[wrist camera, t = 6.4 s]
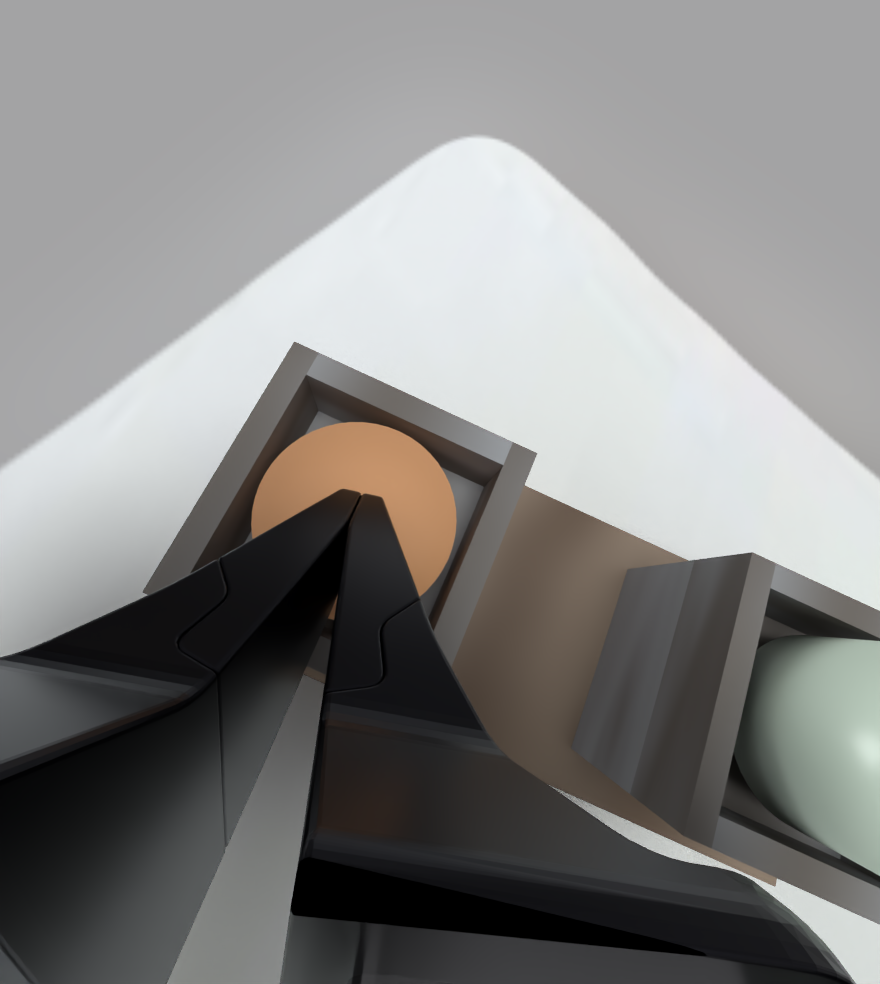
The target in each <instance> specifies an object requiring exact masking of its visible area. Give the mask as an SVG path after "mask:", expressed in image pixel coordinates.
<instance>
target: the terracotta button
mask: <svg viewBox="0 0 880 984" xmlns="http://www.w3.org/2000/svg"><path fill="white" fill-rule="evenodd" d="M340 489H348V490H353V491H357V492H360V493H361V495H363V494H365V493H366V494H371V495H376V496H380V497H382V498H383V500H384V502H385V505H386V508H387V510H388V513H389V516H390V518H391V521H392V524H393V526H394V529H395V532H396V534H397V537H398V540H399V543H400V545H401V548H402V551H403V553H404V556H405V559H406V561H407V564H408V567H409V569H410V572H411V575H412V577H413V580H414V583H415V586H416V588H417V591H418V594H419V596H421V595H422V594H423V593H425V592H426V591H427V590H428V588H429V587H430V586H431V585H432V584H433V583H434V582H435V580H436V579H437V578H438V576H439V575H440V573H441V572H442V570H443V568H444V566H445V564H446V563H447V561H448V559H449V556H450V553H451V550H452V547H453V543H454V539H455V534H456V522H457V520H456V506H455V500H454V496H453V492H452V489H451V486H450V483H449V481H448V479H447V477H446V475H445V473H444V471H443V470H442V468H441V467H440V465H439V464H438V462H437V461H436V460H435V459H434V457H433V456H432V455H431V454H430V453H429V452H428V451H427V450H426V449H425V448H424V447H423V446H422V445H421V444H419V443H418V442H416V441H415V440H414V439H412V438H411V437H409V436H407V435H405V434H403V433H402V432H400V431H397V430H395V429H392V428H390V427H386V426H383V425H379V424H374V423H366V422H347V423H338V424H334V425H329V426H325V427H323V428H320V429H317V430H314V431H312V432H310V433H308V434H306V435H304V436H302V437H301V438H299V439H298V440H296V441H295V442H293V443H292V444H291V445H289V446H288V447H287V448H286V449H285V450H284V451H283V452H282V453H281V454H280V455H279V456H278V457H277V458H276V459H275V460H274V462H273V463H272V464H271V465H270V467H269V468H268V470H267V471H266V473H265V475H264V477H263V479H262V481H261V483H260V485H259V487H258V490H257V493H256V496H255V499H254V504H253V509H252V521H251V528H252V539H253V538H255V537H257V536H259V535H260V534H262V533H264V532H266V531H267V530H269V529H271V528H273V527H274V526H276V525H278V524H280V523H282V522H283V521H285V520H287V519H289V518H290V517H292V516H294V515H296V514H297V513H299V512H301V511H303V510H304V509H306V508H308V507H310V506H311V505H313V504H315V503H317V502H318V501H320V500H322V499H324V498H326V497H327V496H329V495H331V494H333V493H334V492H336V491H338V490H340ZM337 596H338V595H337ZM336 603H337V598H336V600H335V603H334V605H333V608H332V610H331V612H330V615H329V617H328V619H332V620H334V617H335V610H336Z"/></svg>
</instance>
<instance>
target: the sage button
mask: <svg viewBox="0 0 880 984" xmlns="http://www.w3.org/2000/svg"><path fill="white" fill-rule="evenodd" d="M734 755H735V759H736V761H737V764H738V766H739V769H740V771H741V773H742V775H743V777H744V779H745V781H746V783H747V785H748V786H749V788H750V789H751V790H752V792H753V793H754V795H755V796H756V797H757V799H758V800H759V801H760V802H761V803H762V805H763V806H764V807H765V808H766V809H767V810H768V811H770V812H771V813H772V814H773V815H774V816H775V817H777V818H778V819H779V820H781V821H782V822H783V823H785V824H787V825H788V826H790V827H792V828H794V829H796V830H797V831H799V832H801V833H803V834H805V835H807V836H808V837H810V838H812V839H814V840H816V841H817V842H819V843H821V844H823V845H825V846H826V847H828V848H830V849H832V850H834V851H836V852H837V853H839V854H841V855H843V856H845V857H846V858H848V859H850V860H852V861H854V862H855V863H857V864H859V865H861V866H863V867H865V868H866V869H868V870H870V871H872V872H874V873H875V874H877V875H879V876H880V641H871V640H859V639H846V638H834V637H821V636H808V635H789V636H784V637H779V638H777V639H774V640H772V641H769V642H768V643H766V644H764V645H763V646H761V647H760V648H759V649H757V650H756V654H755V659H754V663H753V668H752V672H751V676H750V681H749V685H748V690H747V694H746V699H745V703H744V707H743V712H742V716H741V721H740V725H739V730H738V734H737V738H736V743H735V747H734Z"/></svg>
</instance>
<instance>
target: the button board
mask: <svg viewBox="0 0 880 984" xmlns="http://www.w3.org/2000/svg"><path fill="white" fill-rule="evenodd" d="M347 422H366V423H374V424H379V425H383V426H386V427H390V428H392V429H395V430H397V431H400V432H402V433H403V434H405V435H407V436H409V437H411V438H412V439H414V440H415V441H416V442H418V443H419V444H421V445H422V446H423V447H424V448H425V449H426V450H427V451H428V452H429V453H430V454H431V455H432V456H433V457H434V459H435V460H436V461H437V462H438V464H439V465H440V467H441V468H442V470H443V471H444V473H445V475H446V477H447V479H448V481H449V483H450V486H451V489H452V492H453V496H454V500H455V506H456V520H457V522H456V534H455V539H454V543H453V547H452V550H451V553H450V556H449V559H448V561H447V563H446V564H445V566H444V568H443V570H442V572H441V573H440V575H439V576H438V578H437V579H436V580H435V582H434V583H433V584H432V585H431V586H430V587H429V588H428V590H427V591H426V592H425V593H423V594H422V595H421V596H420V601H421V602H422V604H423V606H424V609H425V612H426V615H427V617H428V620H429V622H430V624H431V627H432V629H433V631H434V634H435V636H436V638H437V640H438V642H439V644H440V646H441V648H442V650H443V652H444V654H445V656H446V658H447V660H448V662H449V664H450V665H451V667H452V669H453V671H454V673H455V674H456V676H457V678H458V680H459V682H460V684H461V685H462V687H463V689H464V691H465V693H466V694H467V696H468V698H469V700H470V702H471V703H472V705H473V707H474V709H475V711H476V712H477V714H478V716H479V718H480V720H481V722H482V723H483V725H484V727H485V728H486V730H487V732H488V733H489V735H490V736H491V737H492V739H493V740H494V742H495V743H496V744H497V745H498V747H499V748H500V749H501V750H502V751H503V752H504V753H505V754H506V755H507V756H508V757H509V758H510V759H511V760H513V761H514V762H515V763H517V764H518V765H520V766H521V767H523V768H524V769H526V770H527V771H528V772H530V773H531V774H533V775H534V776H536V777H537V778H539V779H540V780H541V781H543V782H544V783H546V784H548V785H551V786H553V787H555V788H557V789H559V790H562V791H564V792H566V793H568V794H571V795H573V796H575V797H577V798H579V799H582V800H584V801H586V802H588V803H591V804H593V805H595V806H597V807H599V808H602V809H604V810H606V811H608V812H611V813H613V814H615V815H617V816H619V817H622V818H624V819H626V820H628V821H631V822H633V823H635V824H637V825H639V826H642V827H644V828H646V829H648V830H651V831H653V832H655V833H657V834H659V835H662V836H664V837H666V838H668V839H670V840H673V841H675V842H677V843H679V844H682V845H684V846H686V847H688V848H690V849H693V850H695V851H697V852H699V853H702V854H704V855H706V856H708V857H710V858H713V859H715V860H717V861H719V862H722V863H724V864H726V865H728V866H730V867H733V868H735V869H737V870H739V871H742V872H744V873H746V874H748V875H750V876H753V877H755V878H757V879H759V880H762V881H764V882H766V883H768V884H770V885H773V886H775V885H776V880H777V878H778V879H780V880H782V881H784V882H787V883H789V884H791V885H793V886H796V887H798V888H800V889H802V890H804V891H807V892H809V893H811V894H813V895H816V896H818V897H820V898H822V899H824V900H827V901H829V902H831V903H833V904H836V905H838V906H840V907H842V908H844V909H847V910H849V911H851V912H853V913H855V914H858V915H860V916H862V917H864V918H867V919H869V920H871V921H873V922H875V923H878V924H880V876H879V875H877V874H875V873H874V872H872V871H870V870H868V869H866V868H865V867H863V866H861V865H859V864H857V863H855V862H854V861H852V860H850V859H848V858H846V857H845V856H843V855H841V854H839V853H837V852H836V851H834V850H832V849H830V848H828V847H826V846H825V845H823V844H821V843H819V842H817V841H816V840H814V839H812V838H810V837H808V836H807V835H805V834H803V833H801V832H799V831H797V830H796V829H794V828H792V827H790V826H788V825H787V824H785V823H783V822H782V821H781V820H779V819H778V818H777V817H775V816H774V815H773V814H772V813H771V812H770V811H768V810H767V809H766V808H765V807H764V806H763V805H762V803H761V802H760V801H759V800H758V799H757V797H756V796H755V795H754V793H753V792H752V790H751V789H750V788H749V786H748V785H747V783H746V781H745V779H744V777H743V775H742V773H741V771H740V769H739V766H738V764H737V761H736V759H735V755H734V747H735V743H736V738H737V734H738V730H739V725H740V721H741V716H742V712H743V707H744V703H745V699H746V694H747V690H748V685H749V681H750V676H751V672H752V668H753V663H754V659H755V654H756V650H757V649H759V648H760V647H761V646H763V645H764V644H766V643H768V642H769V641H772V640H774V639H777V638H779V637H784V636H789V635H808V636H821V637H834V638H846V639H859V640H871V641H880V611H878V610H876V609H874V608H872V607H870V606H868V605H865V604H863V603H861V602H859V601H857V600H854V599H852V598H850V597H848V596H846V595H844V594H841V593H839V592H837V591H835V590H833V589H831V588H828V587H826V586H824V585H822V584H820V583H818V582H815V581H813V580H811V579H809V578H807V577H805V576H802V575H800V574H798V573H796V572H794V571H792V570H789V569H787V568H785V567H783V566H781V565H778V564H776V563H774V562H772V561H770V560H768V559H765V558H763V557H761V556H759V555H757V554H755V553H745V554H737V555H730V556H722V557H715V558H707V559H700V560H692V561H688V560H686V559H683V558H681V557H679V556H677V555H675V554H673V553H670V552H668V551H666V550H664V549H662V548H660V547H657V546H655V545H653V544H651V543H649V542H646V541H644V540H642V539H640V538H638V537H636V536H633V535H631V534H629V533H627V532H625V531H623V530H620V529H618V528H616V527H614V526H612V525H609V524H607V523H605V522H603V521H601V520H599V519H596V518H594V517H592V516H590V515H588V514H586V513H583V512H581V511H579V510H577V509H575V508H572V507H570V506H568V505H566V504H564V503H562V502H559V501H557V500H555V499H553V498H551V497H548V496H546V495H544V494H542V493H540V492H538V491H535V490H533V489H531V488H529V487H527V486H525V482H526V480H527V477H528V475H529V472H530V470H531V467H532V465H533V462H534V460H535V457H536V455H537V453H535V452H533V451H531V450H529V449H527V448H524V447H522V446H520V445H518V444H516V443H514V442H511V441H509V440H507V439H505V438H503V437H500V436H498V435H496V434H494V433H492V432H490V431H487V430H485V429H483V428H481V427H479V426H477V425H474V424H472V423H470V422H468V421H466V420H464V419H461V418H459V417H457V416H455V415H453V414H451V413H448V412H446V411H444V410H442V409H440V408H438V407H435V406H433V405H431V404H429V403H427V402H424V401H422V400H420V399H418V398H416V397H414V396H411V395H409V394H407V393H405V392H403V391H401V390H398V389H396V388H394V387H392V386H390V385H388V384H385V383H383V382H381V381H379V380H377V379H375V378H372V377H370V376H368V375H366V374H364V373H361V372H359V371H357V370H355V369H353V368H351V367H348V366H346V365H344V364H342V363H340V362H338V361H335V360H333V359H331V358H329V357H327V356H325V355H322V354H320V353H318V352H316V351H314V350H312V349H309V348H307V347H305V346H303V345H301V344H299V343H296V342H294V343H293V345H292V346H291V348H290V350H289V351H288V353H287V355H286V356H285V358H284V360H283V361H282V363H281V365H280V366H279V368H278V370H277V371H276V373H275V374H274V376H273V378H272V379H271V381H270V383H269V384H268V386H267V388H266V389H265V391H264V393H263V394H262V396H261V398H260V399H259V401H258V402H257V404H256V406H255V407H254V409H253V411H252V412H251V414H250V416H249V417H248V419H247V421H246V422H245V424H244V426H243V427H242V429H241V431H240V432H239V434H238V435H237V437H236V439H235V440H234V442H233V444H232V445H231V447H230V449H229V450H228V452H227V454H226V455H225V457H224V459H223V460H222V462H221V463H220V465H219V467H218V468H217V470H216V472H215V473H214V475H213V477H212V478H211V480H210V482H209V483H208V485H207V487H206V488H205V490H204V492H203V493H202V495H201V496H200V498H199V500H198V501H197V503H196V505H195V506H194V508H193V510H192V511H191V513H190V515H189V516H188V518H187V520H186V521H185V523H184V525H183V526H182V528H181V529H180V531H179V533H178V534H177V536H176V538H175V539H174V541H173V543H172V544H171V546H170V548H169V549H168V551H167V553H166V554H165V556H164V557H163V559H162V561H161V562H160V564H159V566H158V567H157V569H156V571H155V572H154V574H153V576H152V577H151V579H150V581H149V582H148V584H147V586H146V587H145V589H144V590H143V593H145V594H147V595H149V594H152V593H154V592H156V591H158V590H160V589H162V588H164V587H166V586H168V585H170V584H172V583H174V582H176V581H178V580H180V579H182V578H183V577H185V576H187V575H189V574H191V573H193V572H195V571H197V570H198V569H200V568H202V567H204V566H205V565H207V564H209V563H211V562H213V561H214V560H218V561H219V558H220V557H222V556H223V555H225V554H227V553H229V552H230V551H232V550H234V549H236V548H238V547H239V546H241V545H243V544H245V543H246V542H248V541H250V540H252V528H251V521H252V509H253V504H254V499H255V496H256V493H257V490H258V487H259V485H260V483H261V481H262V479H263V477H264V475H265V473H266V471H267V470H268V468H269V467H270V465H271V464H272V463H273V462H274V460H275V459H276V458H277V457H278V456H279V455H280V454H281V453H282V452H283V451H284V450H285V449H286V448H287V447H288V446H289V445H291V444H292V443H293V442H295V441H296V440H298V439H299V438H301V437H302V436H304V435H306V434H308V433H310V432H312V431H314V430H317V429H320V428H323V427H325V426H329V425H334V424H338V423H347ZM333 623H334V620H332V619H327V622H326V624H325V626H324V628H323V631H322V633H321V635H320V637H319V640H318V642H317V644H316V646H315V649H314V651H313V653H312V655H311V658H310V660H309V662H308V664H307V667H306V669H305V671H304V675H306V676H308V677H311V678H313V679H315V680H317V681H320V682H322V683H324V684H325V678H326V671H327V664H328V658H329V651H330V644H331V637H332V630H333Z"/></svg>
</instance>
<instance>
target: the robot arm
mask: <svg viewBox="0 0 880 984" xmlns="http://www.w3.org/2000/svg"><path fill="white" fill-rule="evenodd" d="M337 595H338V596H337ZM336 598H337V603H336V610H335V617H334V623H333V630H332V637H331V644H330V651H329V658H328V664H327V671H326V678H325V685H324V692H323V699H322V706H321V712H320V719H319V726H318V733H317V740H316V747H315V753H314V760H313V767H312V774H311V781H310V788H309V794H308V801H307V808H306V815H305V822H304V829H303V836H302V842H301V849H300V856H299V861H298V867H297V873H296V879H295V885H294V891H293V897H292V902H291V909H290V916H289V923H288V930H287V937H286V944H285V951H284V958H283V965H282V972H281V979H280V984H856V983H855V982H854V980H853V979H852V978H851V976H850V975H849V974H848V972H847V971H846V970H845V968H844V967H843V966H842V964H841V963H840V961H839V960H838V959H837V957H836V956H835V955H834V954H833V952H832V951H831V950H830V949H829V948H828V946H827V945H826V944H825V943H824V942H823V941H822V940H821V939H820V938H819V937H818V936H817V935H816V934H815V933H814V932H813V931H812V930H811V929H810V927H809V926H808V925H807V924H806V923H804V922H803V921H802V920H801V919H800V918H799V917H798V916H797V915H795V914H794V913H793V912H792V911H791V910H790V909H788V908H787V907H786V906H784V905H783V904H782V903H781V902H779V901H778V900H777V899H775V898H774V897H773V896H772V895H770V894H769V893H768V892H767V891H765V890H764V889H763V888H761V887H760V886H759V885H758V884H756V883H755V882H754V881H752V880H751V879H749V878H747V877H745V876H743V875H741V874H738V873H736V872H733V871H729V870H725V869H721V868H717V867H711V866H705V865H700V864H694V863H688V862H684V861H680V860H676V859H672V858H669V857H666V856H664V855H661V854H658V853H656V852H653V851H651V850H649V849H647V848H645V847H643V846H641V845H639V844H637V843H635V842H633V841H631V840H629V839H627V838H625V837H624V836H622V835H621V834H619V833H617V832H616V831H614V830H613V829H611V828H609V827H608V826H607V825H605V824H604V823H602V822H601V821H599V820H598V819H596V818H595V817H594V816H592V815H591V814H589V813H588V812H586V811H585V810H583V809H582V808H581V807H579V806H578V805H576V804H575V803H573V802H572V801H570V800H569V799H568V798H566V797H565V796H563V795H562V794H560V793H559V792H557V791H556V790H554V789H553V788H552V787H550V786H549V785H547V784H546V783H544V782H543V781H541V780H540V779H539V778H537V777H536V776H534V775H533V774H531V773H530V772H528V771H527V770H526V769H524V768H523V767H521V766H520V765H518V764H517V763H515V762H514V761H513V760H511V759H510V758H509V757H508V756H507V755H506V754H505V753H504V752H503V751H502V750H501V749H500V748H499V747H498V745H497V744H496V743H495V742H494V740H493V739H492V737H491V736H490V735H489V733H488V732H487V730H486V728H485V727H484V725H483V723H482V722H481V720H480V718H479V716H478V714H477V712H476V711H475V709H474V707H473V705H472V703H471V702H470V700H469V698H468V696H467V694H466V693H465V691H464V689H463V687H462V685H461V684H460V682H459V680H458V678H457V676H456V674H455V673H454V671H453V669H452V667H451V665H450V664H449V662H448V660H447V658H446V656H445V654H444V652H443V650H442V648H441V646H440V644H439V642H438V640H437V638H436V636H435V634H434V631H433V629H432V627H431V624H430V622H429V620H428V617H427V615H426V612H425V609H424V606H423V604H422V602H421V601H420V596H419V594H418V591H417V588H416V586H415V583H414V580H413V577H412V575H411V572H410V569H409V567H408V564H407V561H406V559H405V556H404V553H403V551H402V548H401V545H400V543H399V540H398V537H397V534H396V532H395V529H394V526H393V524H392V521H391V518H390V516H389V513H388V510H387V508H386V505H385V502H384V500H383V498H382V497H380V496H376V495H371V494H366V493H365V494H363V495H361V493H360V492H357V491H353V490H348V489H340V490H338V491H336V492H334V493H333V494H331V495H329V496H327V497H326V498H324V499H322V500H320V501H318V502H317V503H315V504H313V505H311V506H310V507H308V508H306V509H304V510H303V511H301V512H299V513H297V514H296V515H294V516H292V517H290V518H289V519H287V520H285V521H283V522H282V523H280V524H278V525H276V526H274V527H273V528H271V529H269V530H267V531H266V532H264V533H262V534H260V535H259V536H257V537H255V538H253V539H252V540H250V541H248V542H246V543H245V544H243V545H241V546H239V547H238V548H236V549H234V550H232V551H230V552H229V553H227V554H225V555H223V556H222V557H220V558H219V561H218V560H214V561H213V562H211V563H209V564H207V565H205V566H204V567H202V568H200V569H198V570H197V571H195V572H193V573H191V574H189V575H187V576H185V577H183V578H182V579H180V580H178V581H176V582H174V583H172V584H170V585H168V586H166V587H164V588H162V589H160V590H158V591H156V592H154V593H152V594H149V595H147V596H145V597H143V598H141V599H139V600H137V601H135V602H133V603H130V604H128V605H126V606H124V607H122V608H119V609H117V610H115V611H113V612H111V613H108V614H106V615H104V616H102V617H100V618H97V619H95V620H93V621H91V622H89V623H86V624H84V625H82V626H80V627H78V628H75V629H73V630H71V631H69V632H67V633H64V634H62V635H60V636H58V637H56V638H53V639H51V640H49V641H47V642H44V643H42V644H39V645H37V646H35V647H32V648H30V649H27V650H24V651H21V652H18V653H15V654H12V655H8V656H4V657H0V984H166V983H167V981H168V979H169V977H170V974H171V972H172V970H173V968H174V965H175V963H176V961H177V959H178V956H179V954H180V952H181V950H182V947H183V945H184V943H185V941H186V938H187V936H188V934H189V932H190V929H191V927H192V925H193V922H194V920H195V918H196V916H197V913H198V911H199V909H200V907H201V904H202V902H203V900H204V898H205V895H206V893H207V891H208V889H209V886H210V884H211V882H212V880H213V877H214V875H215V873H216V871H217V868H218V866H219V864H220V862H221V859H222V857H223V855H224V853H225V847H226V846H227V845H228V843H229V841H230V839H231V836H232V834H233V832H234V830H235V827H236V825H237V823H238V820H239V818H240V816H241V814H242V811H243V809H244V807H245V805H246V802H247V800H248V798H249V796H250V793H251V791H252V789H253V787H254V784H255V782H256V780H257V778H258V775H259V773H260V771H261V768H262V766H263V764H264V762H265V759H266V757H267V755H268V753H269V750H270V748H271V746H272V744H273V741H274V739H275V737H276V735H277V732H278V730H279V728H280V726H281V723H282V721H283V719H284V716H285V714H286V712H287V710H288V707H289V705H290V703H291V701H292V698H293V696H294V694H295V692H296V689H297V687H298V685H299V683H300V680H301V678H302V676H303V674H304V671H305V669H306V667H307V664H308V662H309V660H310V658H311V655H312V653H313V651H314V649H315V646H316V644H317V642H318V640H319V637H320V635H321V633H322V631H323V628H324V626H325V624H326V622H327V619H328V617H329V615H330V612H331V610H332V608H333V605H334V603H335V600H336Z"/></svg>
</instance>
